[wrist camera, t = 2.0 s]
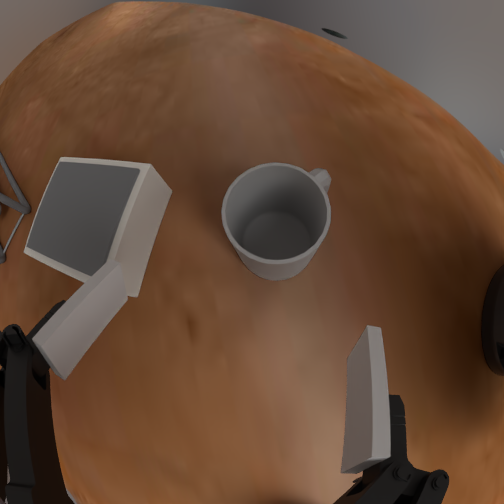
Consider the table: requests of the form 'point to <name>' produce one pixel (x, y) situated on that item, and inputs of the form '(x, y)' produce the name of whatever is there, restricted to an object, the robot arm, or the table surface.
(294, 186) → the cup
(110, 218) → the white rectangular block
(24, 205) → the newton's cradle
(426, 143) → the table surface
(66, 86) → the table surface
